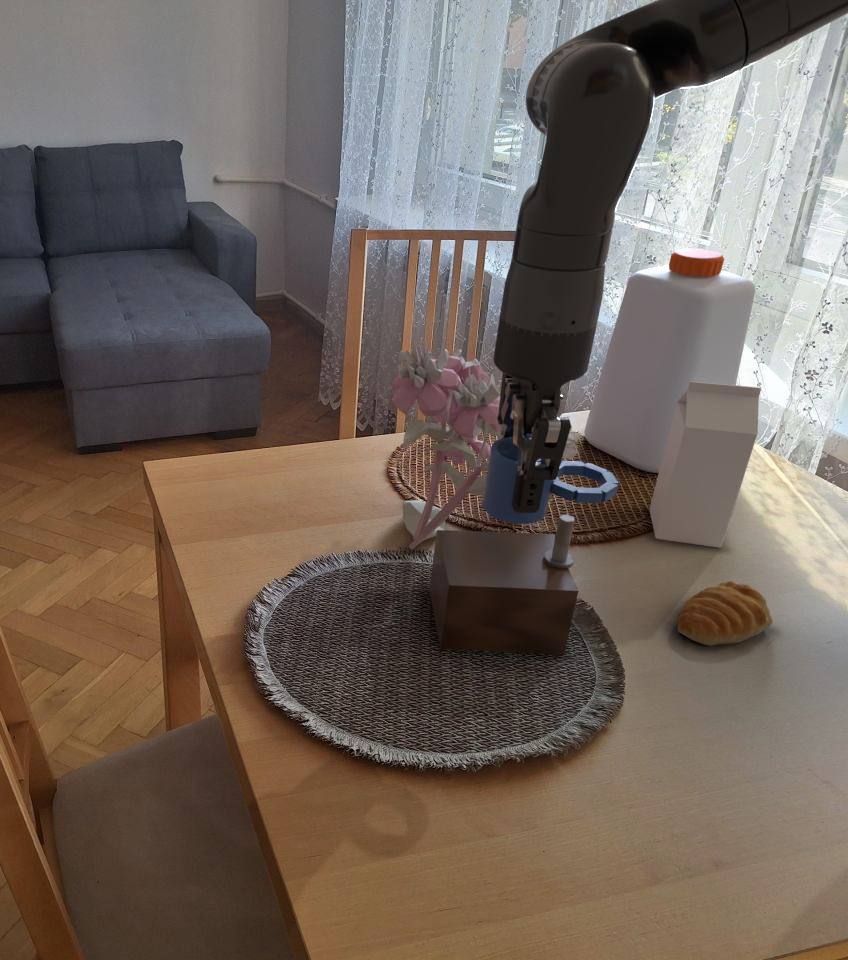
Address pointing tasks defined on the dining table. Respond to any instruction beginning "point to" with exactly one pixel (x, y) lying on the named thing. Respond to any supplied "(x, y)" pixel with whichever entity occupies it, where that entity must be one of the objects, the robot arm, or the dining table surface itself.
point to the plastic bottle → (667, 351)
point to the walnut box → (504, 590)
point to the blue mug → (504, 480)
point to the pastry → (724, 615)
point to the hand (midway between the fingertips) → (516, 492)
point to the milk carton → (704, 462)
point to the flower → (469, 411)
